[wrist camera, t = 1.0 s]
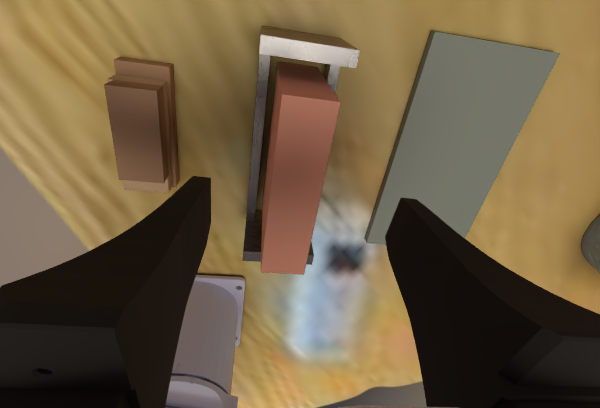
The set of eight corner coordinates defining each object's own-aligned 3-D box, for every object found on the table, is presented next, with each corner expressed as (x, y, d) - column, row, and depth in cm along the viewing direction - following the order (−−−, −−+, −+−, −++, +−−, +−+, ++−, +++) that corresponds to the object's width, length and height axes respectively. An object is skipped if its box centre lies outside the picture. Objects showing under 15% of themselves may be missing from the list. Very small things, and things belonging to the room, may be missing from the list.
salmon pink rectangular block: (294, 201, 26) (303, 274, 19) (262, 199, 26) (260, 272, 19) (317, 66, 21) (340, 102, 14) (277, 61, 21) (282, 94, 14)
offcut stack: (180, 179, 24) (167, 205, 21) (136, 175, 24) (117, 201, 21) (174, 63, 20) (157, 75, 17) (121, 56, 20) (95, 67, 17)
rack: (304, 222, 27) (311, 264, 23) (246, 217, 26) (242, 260, 22) (340, 38, 20) (359, 50, 16) (262, 25, 19) (260, 34, 15)
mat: (455, 245, 30) (459, 249, 29) (364, 238, 29) (366, 243, 28) (553, 51, 22) (560, 53, 21) (431, 30, 20) (435, 31, 20)
